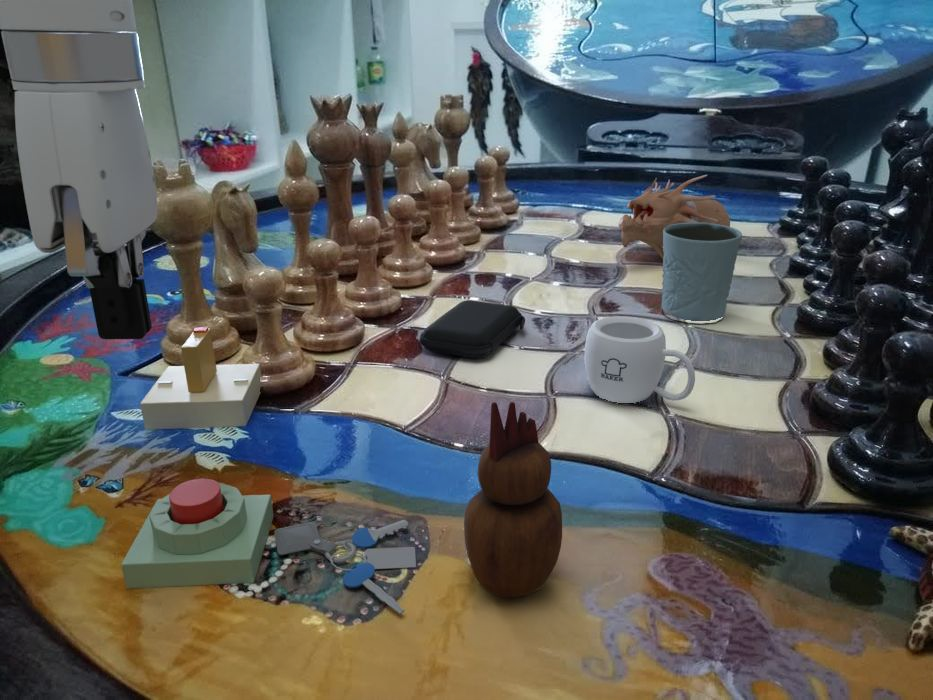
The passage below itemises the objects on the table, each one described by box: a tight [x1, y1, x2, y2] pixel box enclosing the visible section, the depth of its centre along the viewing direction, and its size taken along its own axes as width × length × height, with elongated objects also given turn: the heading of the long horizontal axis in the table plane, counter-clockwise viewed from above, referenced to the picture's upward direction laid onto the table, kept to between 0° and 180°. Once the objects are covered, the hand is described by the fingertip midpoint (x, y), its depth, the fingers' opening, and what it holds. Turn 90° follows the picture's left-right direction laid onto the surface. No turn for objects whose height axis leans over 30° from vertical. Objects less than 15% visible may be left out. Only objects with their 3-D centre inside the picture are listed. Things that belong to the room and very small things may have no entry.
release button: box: [169, 478, 223, 524], centre depth 54 cm, size 4×4×2 cm
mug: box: [584, 315, 696, 404], centre depth 78 cm, size 12×8×8 cm
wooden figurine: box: [463, 401, 563, 598], centre depth 50 cm, size 7×6×15 cm
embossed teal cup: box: [661, 222, 743, 321], centre depth 101 cm, size 10×10×12 cm
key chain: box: [273, 519, 417, 615], centre depth 56 cm, size 14×8×1 cm, turn 56°
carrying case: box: [419, 299, 526, 360], centre depth 94 cm, size 11×3×15 cm
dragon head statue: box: [618, 174, 731, 260], centre depth 125 cm, size 13×15×25 cm
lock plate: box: [139, 363, 262, 431], centre depth 77 cm, size 10×9×3 cm
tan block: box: [180, 326, 217, 392], centre depth 76 cm, size 5×2×5 cm, turn 3°
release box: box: [120, 482, 275, 590], centre depth 55 cm, size 9×8×4 cm
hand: (126, 334), depth 53 cm, fingers closed
